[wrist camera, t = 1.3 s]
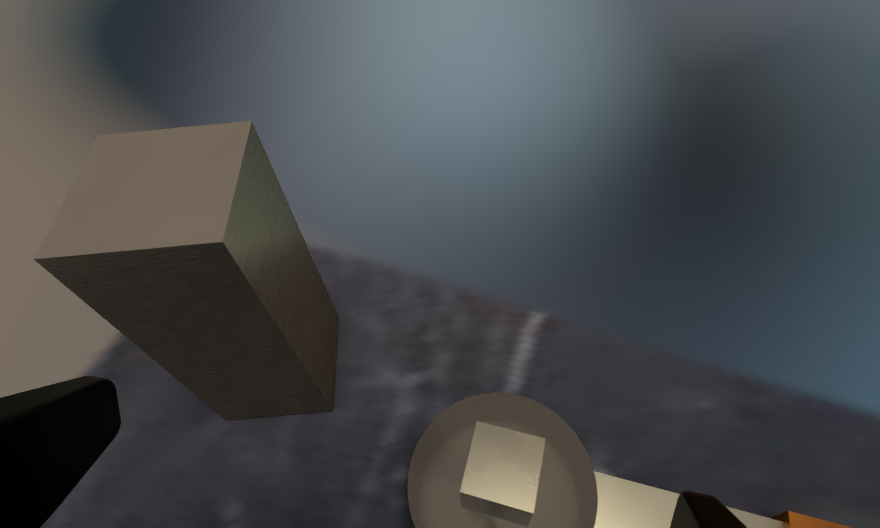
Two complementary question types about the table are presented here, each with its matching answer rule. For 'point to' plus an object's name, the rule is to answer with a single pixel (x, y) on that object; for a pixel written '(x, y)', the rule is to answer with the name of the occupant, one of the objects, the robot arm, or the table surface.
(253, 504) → the table surface
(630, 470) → the table surface
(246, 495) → the table surface
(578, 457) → the ratchet
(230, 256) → the tall beige block
